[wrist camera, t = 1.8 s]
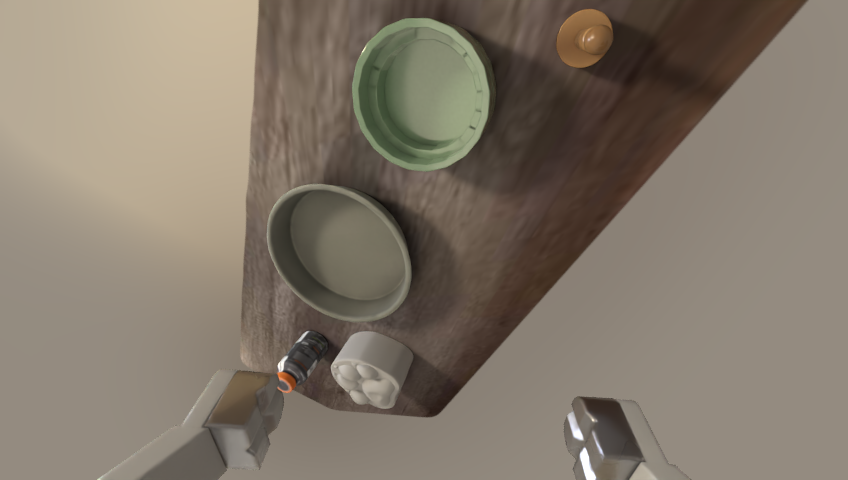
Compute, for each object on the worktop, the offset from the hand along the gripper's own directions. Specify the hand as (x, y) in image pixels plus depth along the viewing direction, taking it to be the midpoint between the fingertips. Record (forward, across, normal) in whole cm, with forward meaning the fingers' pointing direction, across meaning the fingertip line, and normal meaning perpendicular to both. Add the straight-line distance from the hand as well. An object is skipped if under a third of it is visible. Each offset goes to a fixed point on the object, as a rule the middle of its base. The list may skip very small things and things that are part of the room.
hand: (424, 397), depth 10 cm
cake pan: (+44, +13, +24) cm, 52 cm away
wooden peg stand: (+38, -14, -8) cm, 41 cm away
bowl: (+41, +1, -1) cm, 41 cm away
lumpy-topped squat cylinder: (+42, +8, +47) cm, 63 cm away
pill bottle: (+45, +22, +48) cm, 70 cm away
